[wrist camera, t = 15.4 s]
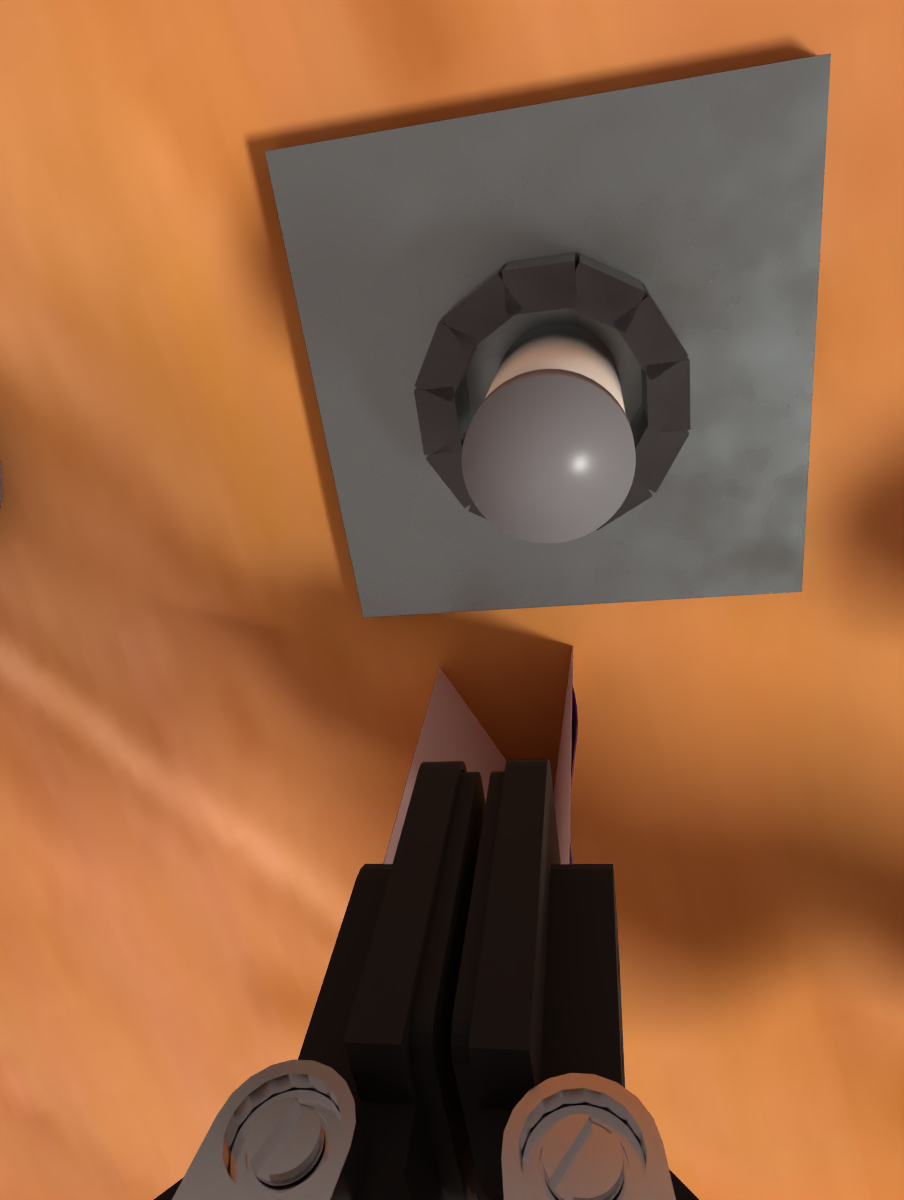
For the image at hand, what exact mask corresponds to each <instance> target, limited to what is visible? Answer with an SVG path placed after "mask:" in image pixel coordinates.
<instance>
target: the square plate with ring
mask: <svg viewBox="0 0 904 1200" xmlns="http://www.w3.org/2000/svg"><path fill="white" fill-rule="evenodd" d="M830 57H831V53H830V54H824V55H818V56H813V57H807V58H801V59H795V60H790V61H784V62H778V63H772V64H766V65H761V66H755V67H749V68H743V69H738V70H732V71H726V72H720V73H715V74H709V75H703V76H697V77H691V78H686V79H680V80H674V81H668V82H663V83H657V84H651V85H645V86H639V87H634V88H628V89H622V90H616V91H611V92H605V93H599V94H593V95H587V96H582V97H576V98H570V99H564V100H559V101H553V102H547V103H541V104H535V105H530V106H524V107H518V108H512V109H507V110H501V111H495V112H489V113H484V114H478V115H472V116H466V117H460V118H455V119H449V120H443V121H437V122H432V123H426V124H420V125H414V126H408V127H403V128H397V129H391V130H385V131H380V132H374V133H368V134H362V135H356V136H351V137H345V138H339V139H333V140H328V141H322V142H316V143H310V144H304V145H299V146H293V147H287V148H281V149H276V150H270V151H265V155H266V159H267V164H268V169H269V174H270V178H271V183H272V188H273V193H274V197H275V202H276V207H277V211H278V216H279V221H280V226H281V230H282V235H283V240H284V245H285V249H286V254H287V259H288V263H289V268H290V273H291V278H292V282H293V287H294V292H295V297H296V301H297V306H298V311H299V316H300V320H301V325H302V330H303V334H304V339H305V344H306V349H307V353H308V358H309V363H310V368H311V372H312V377H313V382H314V386H315V391H316V396H317V401H318V405H319V410H320V415H321V420H322V424H323V429H324V434H325V438H326V443H327V448H328V453H329V457H330V462H331V467H332V472H333V476H334V481H335V486H336V490H337V495H338V500H339V505H340V509H341V514H342V519H343V524H344V528H345V533H346V538H347V542H348V547H349V552H350V557H351V561H352V566H353V571H354V576H355V580H356V585H357V590H358V594H359V599H360V604H361V609H362V613H363V617H379V616H396V615H413V614H431V613H448V612H465V611H482V610H499V609H516V608H533V607H550V606H567V605H584V604H601V603H618V602H635V601H652V600H669V599H686V598H703V597H720V596H737V595H755V594H772V593H789V592H802V579H803V560H804V541H805V523H806V504H807V485H808V467H809V448H810V430H811V411H812V392H813V374H814V355H815V336H816V318H817V299H818V281H819V262H820V243H821V225H822V206H823V188H824V169H825V150H826V132H827V113H828V94H829V76H830ZM551 324H568V325H573V326H577V327H580V328H582V329H585V330H587V331H589V332H590V333H592V334H593V335H595V336H596V337H597V338H599V339H600V340H601V341H602V342H603V343H604V344H605V346H606V347H607V348H608V350H609V351H610V353H611V354H612V356H613V358H614V360H615V363H616V366H617V369H618V374H619V380H620V385H621V391H622V397H623V402H624V408H625V414H626V416H627V418H628V420H629V423H630V426H631V430H632V434H633V439H634V445H635V451H636V466H635V474H634V478H633V482H632V485H631V488H630V490H629V492H628V495H627V497H626V498H625V500H624V502H623V504H622V505H621V506H620V508H619V509H618V510H617V512H616V513H615V514H614V515H613V516H612V517H611V518H610V519H609V520H608V521H607V522H606V523H604V524H603V525H602V526H601V527H599V528H598V529H596V530H594V531H593V532H591V533H589V534H587V535H585V536H582V537H580V538H577V539H574V540H571V541H566V542H560V543H535V542H530V541H525V540H522V539H519V538H516V537H514V536H511V535H509V534H507V533H505V532H503V531H502V530H500V529H499V528H497V527H496V526H494V525H493V524H492V523H491V522H490V521H488V520H487V519H486V518H485V517H484V516H483V515H482V513H481V512H480V511H479V510H478V508H477V507H476V506H475V504H474V502H473V501H472V499H471V497H470V495H469V493H468V490H467V488H466V485H465V481H464V477H463V472H462V449H463V443H464V439H465V436H466V433H467V430H468V428H469V426H470V423H471V421H472V419H473V417H474V415H475V413H476V411H477V409H478V408H479V406H480V405H481V403H482V402H483V401H484V400H485V397H486V395H487V393H488V391H489V388H490V386H491V384H492V381H493V379H494V377H495V375H496V372H497V370H498V368H499V365H500V363H501V361H502V359H503V357H504V355H505V354H506V352H507V350H508V349H509V348H510V347H511V346H512V344H513V343H514V342H516V341H517V340H518V339H519V338H520V337H521V336H523V335H524V334H526V333H527V332H529V331H531V330H533V329H536V328H538V327H541V326H545V325H551Z"/></svg>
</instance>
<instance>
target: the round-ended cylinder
mask: <svg viewBox="0 0 904 1200" xmlns="http://www.w3.org/2000/svg"><path fill="white" fill-rule="evenodd" d="M635 466H636V451H635V445H634V439H633V434H632V430H631V426H630V423H629V420H628V418H627V416H626V414H625V408H624V402H623V397H622V391H621V385H620V380H619V374H618V369H617V366H616V363H615V360H614V358H613V356H612V354H611V353H610V351H609V350H608V348H607V347H606V346H605V344H604V343H603V342H602V341H601V340H600V339H599V338H597V337H596V336H595V335H593V334H592V333H590V332H589V331H587V330H585V329H582V328H580V327H577V326H573V325H568V324H551V325H545V326H541V327H538V328H536V329H533V330H531V331H529V332H527V333H526V334H524V335H523V336H521V337H520V338H519V339H518V340H517V341H516V342H514V343H513V344H512V346H511V347H510V348H509V349H508V350H507V352H506V354H505V355H504V357H503V359H502V361H501V363H500V365H499V368H498V370H497V372H496V375H495V377H494V379H493V381H492V384H491V386H490V388H489V391H488V393H487V395H486V397H485V400H484V401H483V402H482V403H481V405H480V406H479V408H478V409H477V411H476V413H475V415H474V417H473V419H472V421H471V423H470V426H469V428H468V430H467V433H466V436H465V439H464V443H463V449H462V472H463V477H464V481H465V485H466V488H467V490H468V493H469V495H470V497H471V499H472V501H473V502H474V504H475V506H476V507H477V508H478V510H479V511H480V512H481V513H482V515H483V516H484V517H485V518H486V519H487V520H488V521H490V522H491V523H492V524H493V525H494V526H496V527H497V528H499V529H500V530H502V531H503V532H505V533H507V534H509V535H511V536H514V537H516V538H519V539H522V540H525V541H530V542H535V543H560V542H566V541H571V540H574V539H577V538H580V537H582V536H585V535H587V534H589V533H591V532H593V531H594V530H596V529H598V528H599V527H601V526H602V525H603V524H604V523H606V522H607V521H608V520H609V519H610V518H611V517H612V516H613V515H614V514H615V513H616V512H617V510H618V509H619V508H620V506H621V505H622V504H623V502H624V500H625V498H626V497H627V495H628V492H629V490H630V488H631V485H632V482H633V478H634V474H635Z"/></svg>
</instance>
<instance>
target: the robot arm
mask: <svg viewBox="0 0 904 1200" xmlns="http://www.w3.org/2000/svg"><path fill="white" fill-rule="evenodd" d="M154 1200H699V1199H698V1198H697V1197H696V1196H695V1195H694V1194H693V1193H692V1192H691V1191H690V1190H689V1189H688V1188H687V1187H686V1186H685V1185H684V1184H683V1183H682V1182H681V1181H680V1180H679V1179H678V1178H677V1177H676V1176H675V1175H674V1174H673V1173H672V1172H671V1171H670V1170H669V1167H668V1163H667V1159H666V1154H665V1150H664V1146H663V1142H662V1139H661V1137H660V1134H659V1132H658V1129H657V1126H656V1124H655V1121H654V1119H653V1117H652V1116H651V1114H650V1113H649V1112H648V1111H647V1109H646V1108H645V1107H644V1105H643V1104H642V1103H641V1101H640V1100H639V1099H638V1098H637V1097H636V1096H635V1095H633V1094H632V1093H631V1092H629V1091H628V1090H627V1089H625V1075H624V1053H623V1031H622V1008H621V986H620V965H619V946H618V928H617V912H616V897H615V883H614V869H613V864H561V859H560V850H559V841H558V831H557V822H556V813H555V803H554V794H553V785H552V775H551V767H550V761H549V759H527V760H507V762H506V766H505V771H492V772H491V774H490V779H489V785H488V791H487V798H486V803H485V797H484V790H483V784H482V778H481V774H480V772H467V769H466V765H465V763H464V762H463V761H440V762H422V763H421V765H420V767H419V770H418V774H417V777H416V781H415V784H414V788H413V792H412V795H411V799H410V803H409V806H408V810H407V813H406V817H405V821H404V824H403V828H402V831H401V835H400V839H399V842H398V846H397V849H396V853H395V857H394V860H393V864H365V865H364V866H363V867H362V868H361V869H360V871H359V874H358V876H357V878H356V881H355V885H354V888H353V891H352V894H351V897H350V900H349V903H348V906H347V909H346V912H345V916H344V919H343V922H342V925H341V928H340V931H339V934H338V937H337V940H336V943H335V947H334V950H333V953H332V956H331V959H330V962H329V965H328V968H327V971H326V974H325V978H324V981H323V984H322V987H321V990H320V993H319V996H318V999H317V1002H316V1005H315V1009H314V1012H313V1015H312V1018H311V1021H310V1024H309V1027H308V1030H307V1033H306V1036H305V1040H304V1043H303V1046H302V1049H301V1052H300V1055H299V1058H298V1060H290V1061H286V1062H282V1063H278V1064H274V1065H271V1066H269V1067H267V1068H266V1069H264V1070H262V1071H260V1072H258V1073H257V1074H255V1075H253V1076H251V1077H250V1078H249V1079H248V1080H246V1081H245V1082H244V1083H243V1084H242V1085H241V1086H240V1087H239V1088H238V1089H237V1090H235V1091H234V1092H233V1093H232V1094H231V1096H230V1097H229V1098H228V1100H227V1101H226V1103H225V1104H224V1106H223V1107H222V1109H221V1110H220V1111H219V1113H218V1114H217V1116H216V1118H215V1120H214V1122H213V1124H212V1125H211V1127H210V1129H209V1131H208V1133H207V1135H206V1137H205V1139H204V1140H203V1142H202V1144H201V1146H200V1148H199V1150H198V1152H197V1154H196V1155H195V1157H194V1159H193V1161H192V1163H191V1165H190V1167H189V1169H188V1170H187V1172H186V1174H185V1176H184V1178H182V1179H181V1180H180V1181H178V1182H177V1183H176V1184H174V1185H173V1186H171V1187H170V1188H169V1189H167V1190H166V1191H165V1192H163V1193H162V1194H161V1195H159V1196H158V1197H157V1198H155V1199H154Z"/></svg>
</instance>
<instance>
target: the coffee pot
mask: <svg viewBox="0 0 904 1200" xmlns="http://www.w3.org/2000/svg"><path fill="white" fill-rule="evenodd" d="M3 494H4V490H3V476H2V465H1V461H0V507H1V503H2V498H3Z"/></svg>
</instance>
